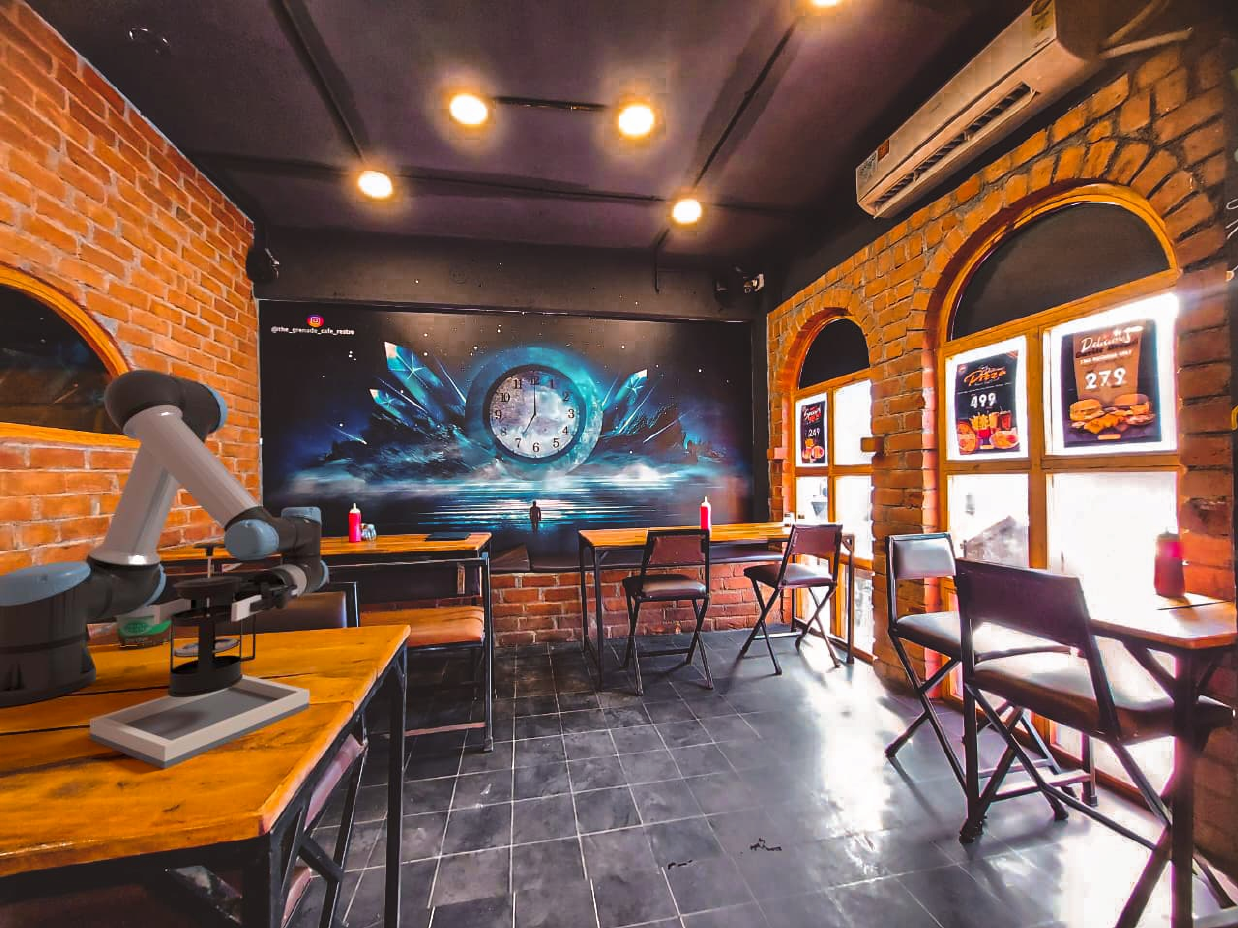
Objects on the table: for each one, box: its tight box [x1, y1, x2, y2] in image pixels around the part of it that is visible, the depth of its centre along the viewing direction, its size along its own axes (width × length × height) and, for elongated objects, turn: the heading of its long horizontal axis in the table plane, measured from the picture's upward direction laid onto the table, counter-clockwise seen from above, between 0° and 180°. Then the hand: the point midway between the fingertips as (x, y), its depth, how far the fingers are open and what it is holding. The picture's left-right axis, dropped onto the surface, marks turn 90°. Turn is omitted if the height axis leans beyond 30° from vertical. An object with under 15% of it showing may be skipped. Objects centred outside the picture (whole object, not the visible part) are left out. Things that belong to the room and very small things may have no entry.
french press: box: [167, 543, 257, 697], centre depth 81 cm, size 12×9×23 cm
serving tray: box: [88, 674, 311, 770], centre depth 80 cm, size 20×20×3 cm
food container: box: [112, 604, 171, 651], centre depth 119 cm, size 12×6×10 cm, turn 123°
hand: (195, 613), depth 77 cm, fingers closed on french press, 10 cm apart
